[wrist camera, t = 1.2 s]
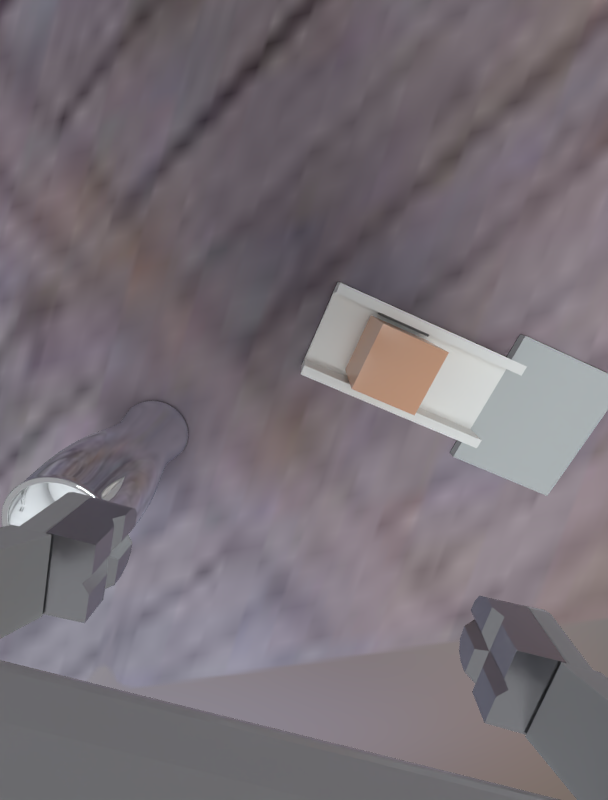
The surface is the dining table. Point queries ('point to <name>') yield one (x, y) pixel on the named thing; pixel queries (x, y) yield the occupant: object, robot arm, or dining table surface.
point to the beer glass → (106, 464)
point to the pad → (537, 417)
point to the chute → (466, 361)
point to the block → (394, 365)
